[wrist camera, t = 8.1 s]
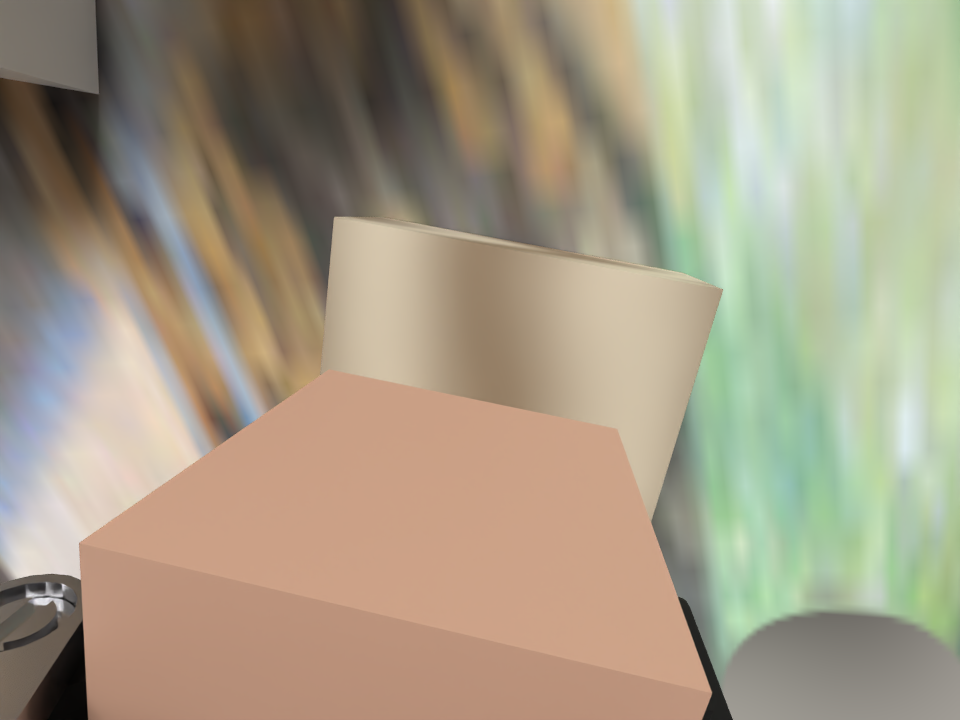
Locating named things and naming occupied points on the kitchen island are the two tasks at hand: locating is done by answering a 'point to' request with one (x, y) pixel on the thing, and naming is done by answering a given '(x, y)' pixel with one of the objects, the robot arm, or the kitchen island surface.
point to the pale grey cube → (50, 43)
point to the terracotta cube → (390, 573)
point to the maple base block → (521, 329)
